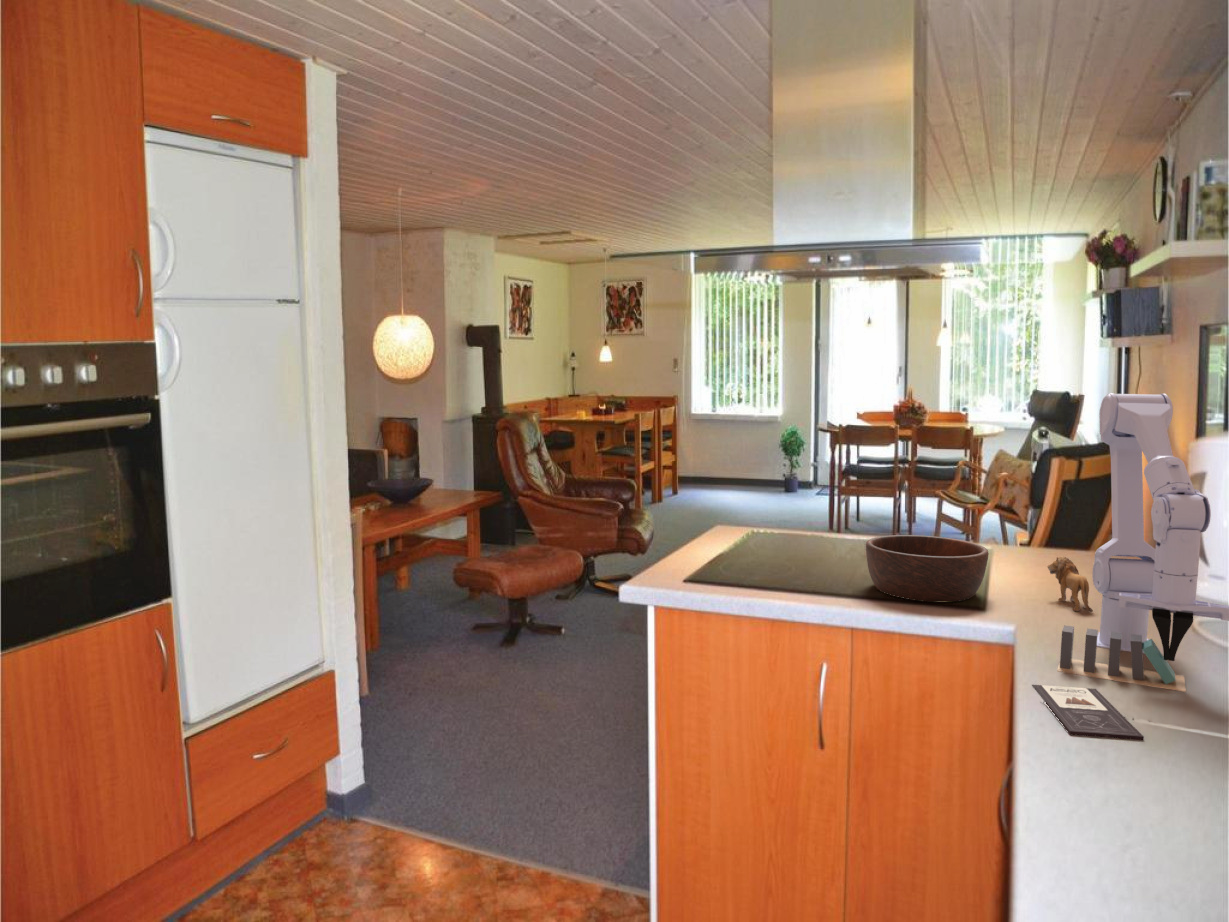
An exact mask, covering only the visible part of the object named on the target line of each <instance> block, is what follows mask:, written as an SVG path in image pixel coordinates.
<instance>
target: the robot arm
mask: <svg viewBox="0 0 1229 922" xmlns="http://www.w3.org/2000/svg"><path fill="white" fill-rule="evenodd" d="M1173 408H1174V407H1173V401H1172V399H1171V398H1170V397H1169V396H1168V395H1167V394H1166V393H1159V394H1158V393H1157V394H1151V393H1150V394H1149V393H1148V394H1146V393H1145V394H1144V393H1143V394H1142V393H1141V394H1140V393H1113V392H1107V393H1106V395H1105V396H1104V397H1103V398H1102V400H1101V404H1100V408H1099V415H1098V416H1099V436H1100V441H1101V442H1102V443H1104V444H1106V445H1108V446H1109V454H1110V477H1111V478H1110V481H1111V482H1110V483H1111V484H1110V485H1111V488H1110V489H1111V495H1110V496H1111V532H1112V533H1111V537H1112V538H1111V539H1110V540H1109V541H1107V542H1106V543H1104V544H1103V545H1101V546H1100V547H1098V548H1097V549H1096V551H1095V553H1094V559H1093V560H1094V561H1093V566H1092V572H1091V573H1092V583H1093V586H1094V588H1095V590H1096V591H1097V592H1098V593H1099V594H1101V609H1100V610H1101V611H1100V612H1101V613H1100V624H1099V625H1100V626H1099V632H1098V634H1097V648H1102V649H1108V650H1110V637H1111V632H1117V633H1122V639H1121V651H1122V652H1123V651H1124V652H1130V653H1131V642H1130V640H1131V635H1142V643H1143V642H1145V641H1147V640H1150V638H1148V629H1149V617H1150V611H1152V612H1151V613H1152V616H1151V617H1152V619H1153V622H1154V624H1155V626H1156V629H1157V631H1158V634H1159V637H1160V641H1161V645H1162V650H1163V656H1164V660H1166V661H1170V662H1175V661H1176V655H1177V652H1178V649H1179V648H1180V647H1179V646H1180V645H1181V643H1182V640H1183V638H1184V637H1185V635H1186V634H1187V632H1188V630H1190V628H1191V627H1192V625H1193V623H1194V616H1196V617H1204V618H1212V619H1220V620H1221V621H1225V622H1226V621H1227V622H1229V605H1228V604H1221V603H1214V602H1208V601H1203V600H1197V591H1198V590H1197V588H1198V587H1197V586H1198V575H1199V564H1200V563H1199V562H1200V553H1201V552H1200V551H1201V550H1200V549H1201V539H1202V533H1205V532H1206V531H1207V530H1208V528H1209V526H1210V522H1211V516H1212V513H1211V505H1210V501H1209V499H1208V498H1209V497H1207V495H1206V494H1205V493H1202V492H1201V490H1200V489H1195V487H1194V484H1193V482H1192V480H1191V476H1190V475H1189V472H1188V469H1187V467H1186V465H1185V461H1183V460H1182V459H1181V458H1179V457H1176V456H1174V454H1173V449H1172V445H1171V441H1170V437H1169V432H1168V430H1169V427H1170V424H1171V422H1172V420H1173V414H1174V409H1173ZM1143 455H1144V457H1145V459H1146V462H1147V464H1146V465H1145V466H1144V469H1143ZM1143 476H1144V478H1145V480H1146V484H1147V487H1148V489H1149V492H1150V495H1151V498H1152V500H1153V502H1152V506H1151V509H1150V516H1151V521H1152V522H1151V523H1152V536H1153V537H1152V538H1153V540H1154V541H1156V542H1155V547H1153V546H1152V545H1150V544H1149V543H1148V542H1147V541H1145V531H1144V530H1145V528H1144V527H1145V525H1144V523H1145V522H1144V483H1143V479H1144V478H1143ZM1114 557H1115V558H1114ZM1116 557H1117V558H1116ZM1118 557H1127V558H1118ZM1128 557H1129V558H1128ZM1130 557H1132V558H1130ZM1133 558H1134V559H1133ZM1137 558H1139V559H1137ZM1171 627H1172V628H1171ZM1170 636H1171V637H1170ZM1170 638H1171V639H1170ZM1144 654H1145V653H1144V651H1143V655H1144ZM1145 655H1146V654H1145Z"/></svg>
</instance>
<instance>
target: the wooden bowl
mask: <svg viewBox="0 0 1229 922" xmlns="http://www.w3.org/2000/svg"><path fill="white" fill-rule="evenodd" d="M865 553H866V563H867V564H866V565H867V569H868V573H869V577H870V579H871V580H872V583H873V585H874V586H875V588H876V589H877V590H878V589H879V590H881V591H883V592H885V593H888V594H891V595H895V596H899V597H904V598H909V599H915V600H923V601H922V602H924V601H957V602H960V601H959V600H963V601H965V600H964V599H967V600H969V599H971V598H972V597H974V596H975V594H977V592H978V591H979V588H980V587H981V585H982V583H983V581H984V577H985V574H986V570H987V566H988V561H989V556H990V555H989V554H990V553H989V549H987V548H986V547H984V546H983V545H981V544H978V543H975V542H972V541H968V540H963V539H956V538H953V537H952V538H950V537H944V536H943V537H942V536H933V535H920V534H916V535H915V534H896V535H895V534H894V535H882V536H881V535H880V536H877V537H872V538H870V539H868V540H867V541H866V542H865ZM879 590H878V591H879ZM881 591H880V592H881ZM883 592H882V593H883ZM885 593H884V594H885ZM968 598H969V599H968ZM915 600H914V601H915Z"/></svg>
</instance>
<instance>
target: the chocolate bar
mask: <svg viewBox="0 0 1229 922" xmlns="http://www.w3.org/2000/svg"><path fill="white" fill-rule="evenodd" d="M1031 686H1032V687H1033V689H1034V690H1035V691H1036V692H1037V694H1038V695H1039V696H1040V697H1041V699H1042V700H1043V702H1046V704H1047V705H1048V706H1049V708H1050V709H1051V710H1052V712H1053V713H1054V714H1055V716H1056V717H1057V718H1058V719H1059V721H1060V722H1061V723H1062V724H1063V726H1064V727H1065V728H1064V727H1063V726H1062V727H1063V728H1064V730H1065V729H1066V730H1067V731H1068V732H1067V731H1066V730H1065V731H1066V732H1067V734H1068V735H1069V734H1070V735H1069V736H1079V737H1090V738H1091V737H1092V738H1093V737H1094V738H1095V737H1096V738H1104V739H1105V738H1106V739H1119V740H1120V739H1121V740H1131V741H1133V740H1134V741H1135V740H1136V741H1144V740H1145V739H1144V738H1145V736H1144V735H1143V734H1142V733H1141V732H1140V731H1139V730H1138V729H1137V728H1136V727H1135V726H1134V725H1133V724H1132V723H1131V722H1130V721H1129V720H1128V719H1127V718H1126V717H1124V715H1123V714H1122V713H1121V712H1120V711H1119V710H1118V709H1117V708H1116V707H1115V706H1114V705H1113V704H1112V703H1111V702H1110V701H1109V700H1108V699H1107V698H1105V696H1104V695H1102V693H1101V692H1100V691H1099V690H1098V689H1097V688H1089V687H1086V688H1085V687H1074V686H1072V687H1071V686H1058V685H1044V684H1031ZM1052 712H1051V713H1052ZM1055 716H1054V717H1055ZM1056 717H1055V718H1056ZM1059 721H1058V722H1059ZM1060 722H1059V723H1060ZM1061 723H1060V724H1061Z"/></svg>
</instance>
